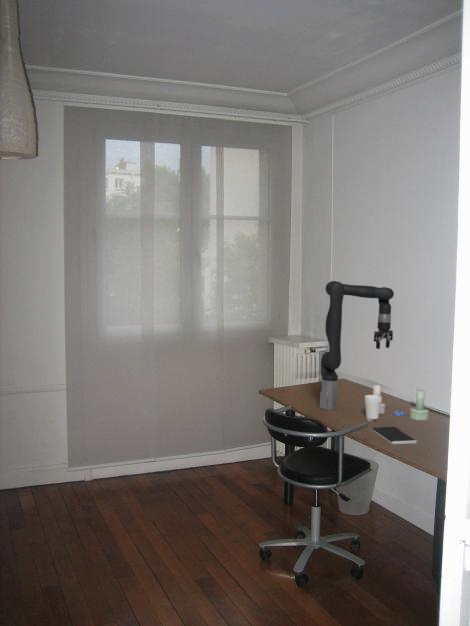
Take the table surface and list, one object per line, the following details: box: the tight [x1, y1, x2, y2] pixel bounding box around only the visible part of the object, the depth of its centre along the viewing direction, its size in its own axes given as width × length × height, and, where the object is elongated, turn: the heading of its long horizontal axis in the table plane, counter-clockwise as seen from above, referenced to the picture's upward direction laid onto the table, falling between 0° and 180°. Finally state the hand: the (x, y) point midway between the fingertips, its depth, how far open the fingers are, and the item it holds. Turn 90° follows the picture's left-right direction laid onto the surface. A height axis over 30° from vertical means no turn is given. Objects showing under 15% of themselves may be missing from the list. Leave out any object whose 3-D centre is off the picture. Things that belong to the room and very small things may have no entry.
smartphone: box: [370, 426, 418, 445], centre depth 333 cm, size 13×27×2 cm, turn 12°
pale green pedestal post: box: [409, 389, 430, 421], centre depth 363 cm, size 10×10×17 cm
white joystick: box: [372, 383, 386, 415], centre depth 374 cm, size 10×10×17 cm
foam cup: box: [364, 394, 383, 422], centre depth 362 cm, size 10×9×13 cm
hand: (382, 348), depth 386 cm, fingers open, 8 cm apart
